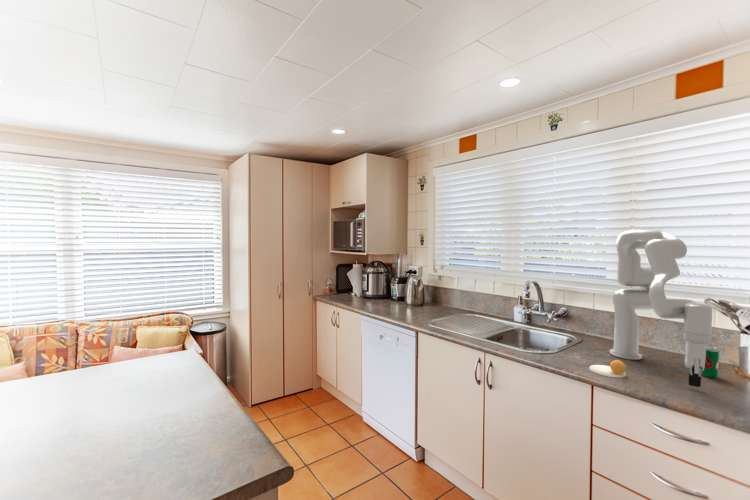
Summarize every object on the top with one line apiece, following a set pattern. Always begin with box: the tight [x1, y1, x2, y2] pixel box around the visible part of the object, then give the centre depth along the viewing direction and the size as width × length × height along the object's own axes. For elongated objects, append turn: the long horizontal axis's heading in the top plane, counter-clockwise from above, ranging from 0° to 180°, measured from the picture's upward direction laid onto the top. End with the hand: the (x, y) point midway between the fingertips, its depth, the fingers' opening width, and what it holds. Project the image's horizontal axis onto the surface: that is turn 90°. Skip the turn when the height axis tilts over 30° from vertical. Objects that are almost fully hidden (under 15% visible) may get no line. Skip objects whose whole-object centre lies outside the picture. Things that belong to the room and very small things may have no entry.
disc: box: [588, 364, 627, 379], centre depth 145 cm, size 13×13×1 cm
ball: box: [609, 359, 627, 374], centre depth 143 cm, size 6×6×6 cm
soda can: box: [701, 345, 720, 379], centre depth 140 cm, size 5×5×12 cm
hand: (694, 385), depth 129 cm, fingers closed
